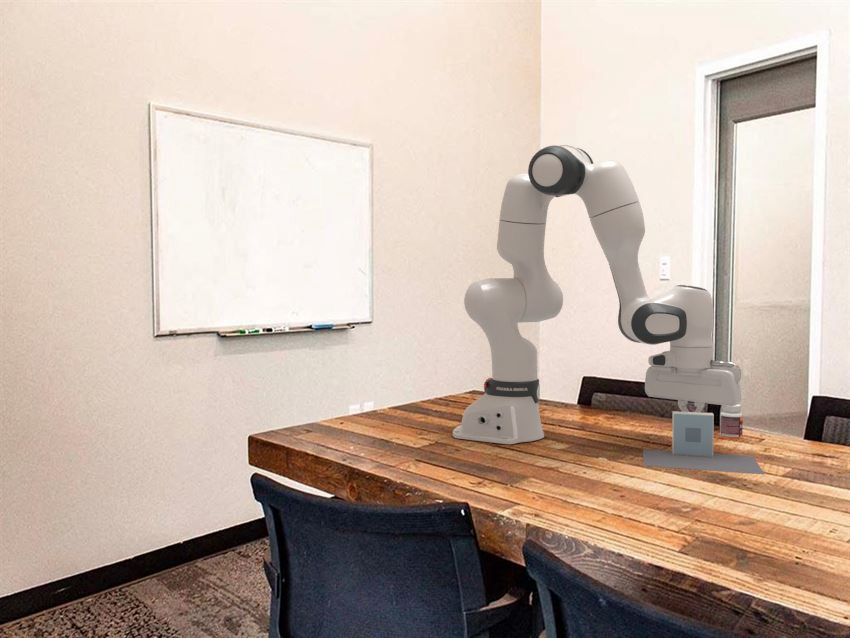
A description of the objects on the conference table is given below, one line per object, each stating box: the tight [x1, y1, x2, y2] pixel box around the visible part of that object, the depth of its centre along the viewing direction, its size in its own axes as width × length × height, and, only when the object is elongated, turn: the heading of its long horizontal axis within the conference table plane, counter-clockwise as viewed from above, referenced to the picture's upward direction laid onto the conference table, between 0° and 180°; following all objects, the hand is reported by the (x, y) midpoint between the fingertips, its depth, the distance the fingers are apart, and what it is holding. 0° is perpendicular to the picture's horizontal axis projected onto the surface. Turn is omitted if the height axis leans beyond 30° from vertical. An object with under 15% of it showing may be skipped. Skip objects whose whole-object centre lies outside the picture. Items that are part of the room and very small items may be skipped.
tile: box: [671, 410, 715, 457], centre depth 138 cm, size 8×2×9 cm, turn 72°
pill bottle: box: [719, 403, 744, 441], centre depth 153 cm, size 5×5×8 cm
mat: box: [642, 448, 765, 476], centre depth 134 cm, size 22×14×1 cm, turn 72°
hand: (690, 421), depth 143 cm, fingers closed
